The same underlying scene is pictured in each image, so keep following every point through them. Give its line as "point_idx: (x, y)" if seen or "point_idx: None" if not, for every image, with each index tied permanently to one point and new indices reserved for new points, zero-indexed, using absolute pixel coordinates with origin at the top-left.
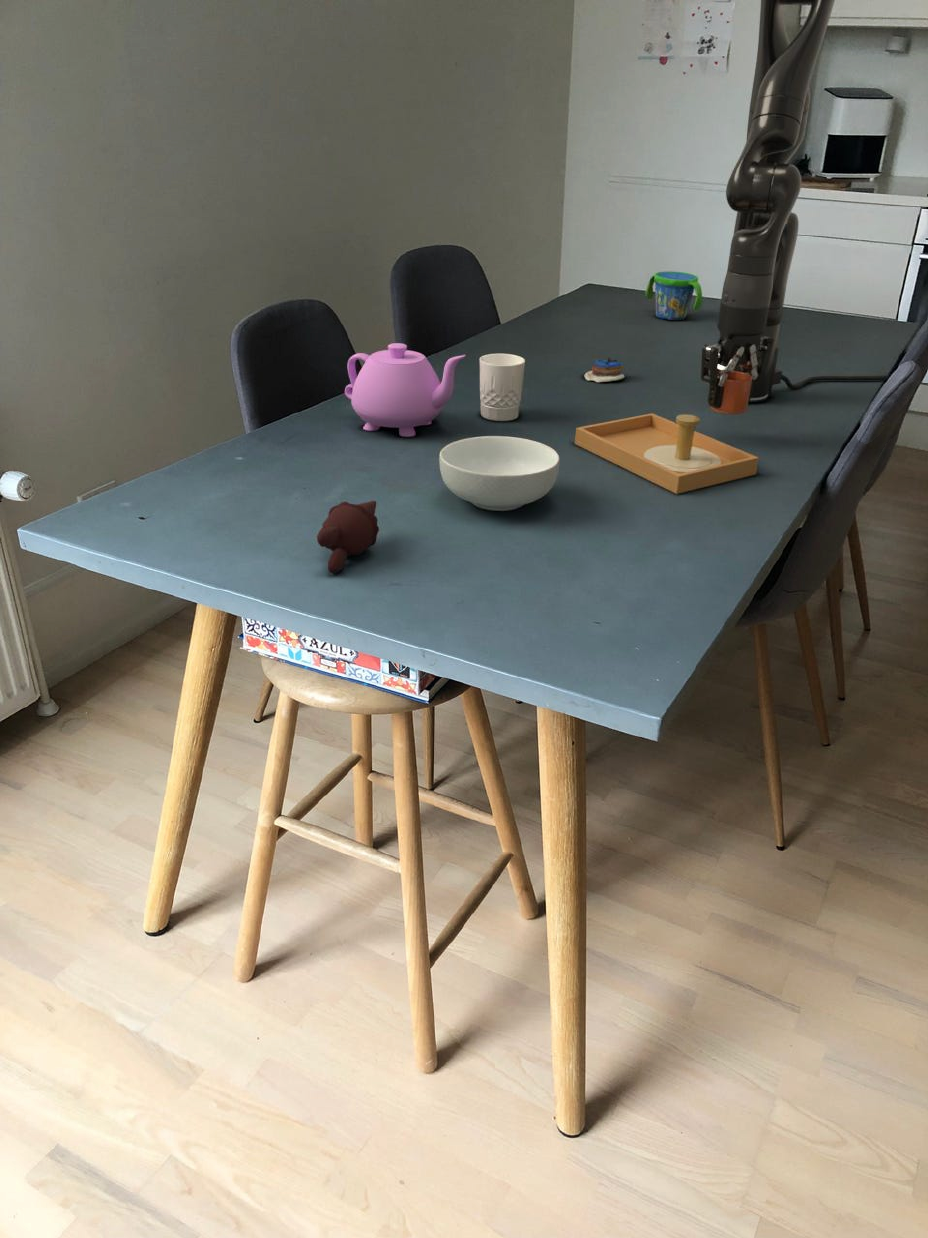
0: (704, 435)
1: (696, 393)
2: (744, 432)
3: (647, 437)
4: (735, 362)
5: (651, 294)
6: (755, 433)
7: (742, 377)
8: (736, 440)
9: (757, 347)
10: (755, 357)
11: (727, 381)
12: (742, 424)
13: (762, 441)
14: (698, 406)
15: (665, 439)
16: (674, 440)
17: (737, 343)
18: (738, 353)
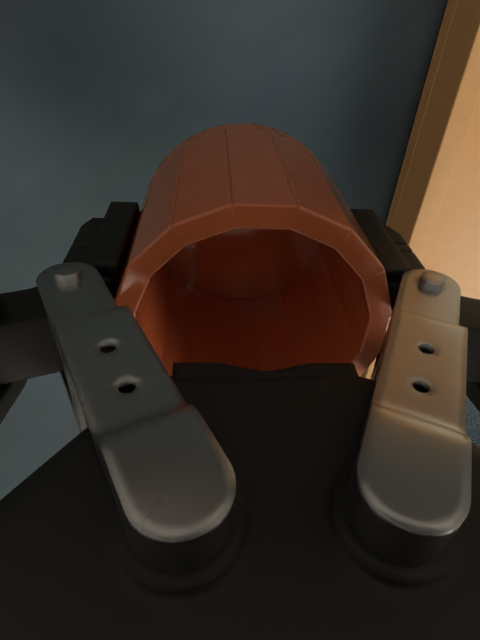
0: (453, 127)
1: (3, 471)
2: (81, 186)
3: (476, 290)
4: (402, 372)
5: None
6: (42, 153)
7: (141, 322)
8: (182, 133)
9: (8, 501)
10: (95, 380)
11: (386, 279)
12: (29, 252)
13: (79, 56)
14: (67, 413)
15: (453, 249)
16: (439, 227)
17: (446, 602)
18: (452, 445)
